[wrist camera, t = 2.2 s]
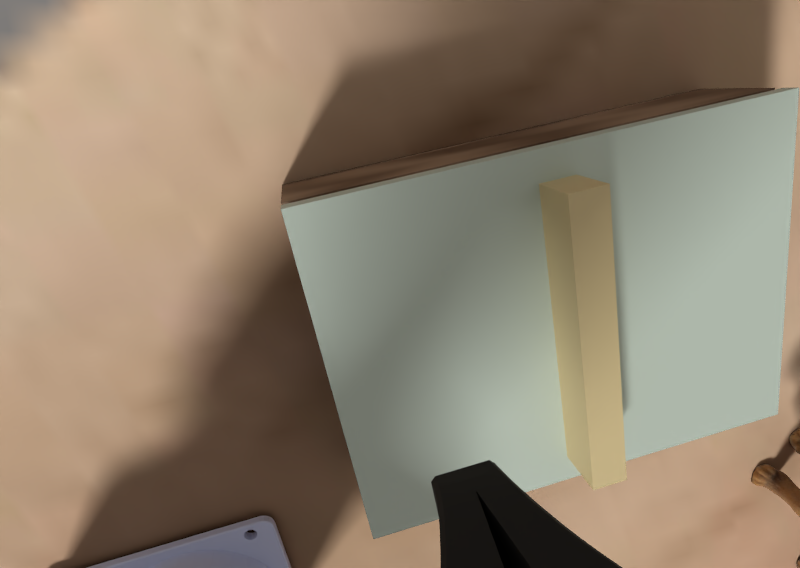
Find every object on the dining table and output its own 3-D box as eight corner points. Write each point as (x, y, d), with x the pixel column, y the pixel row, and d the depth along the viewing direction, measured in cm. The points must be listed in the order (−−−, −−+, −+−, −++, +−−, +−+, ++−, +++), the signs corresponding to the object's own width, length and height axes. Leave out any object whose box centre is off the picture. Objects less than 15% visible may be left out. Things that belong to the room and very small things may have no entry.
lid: (371, 526, 20) (381, 581, 17) (280, 204, 15) (279, 223, 13) (765, 405, 22) (820, 441, 19) (782, 88, 17) (856, 86, 15)
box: (358, 462, 23) (369, 520, 20) (281, 184, 19) (281, 203, 16) (699, 362, 25) (758, 401, 22) (700, 88, 21) (774, 88, 18)
